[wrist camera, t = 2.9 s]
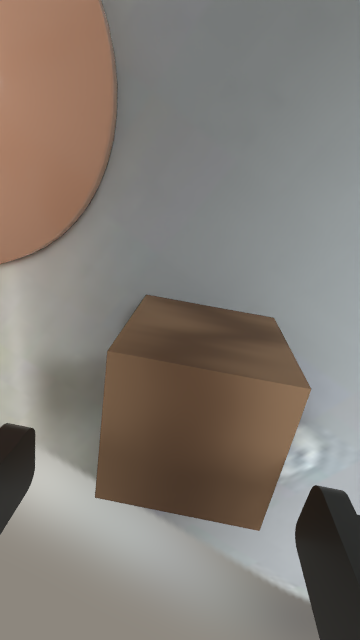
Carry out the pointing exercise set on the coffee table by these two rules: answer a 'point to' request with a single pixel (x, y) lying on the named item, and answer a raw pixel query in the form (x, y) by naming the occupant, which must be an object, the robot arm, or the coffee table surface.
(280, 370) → the walnut cube
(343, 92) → the coffee table surface
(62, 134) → the terracotta coaster
